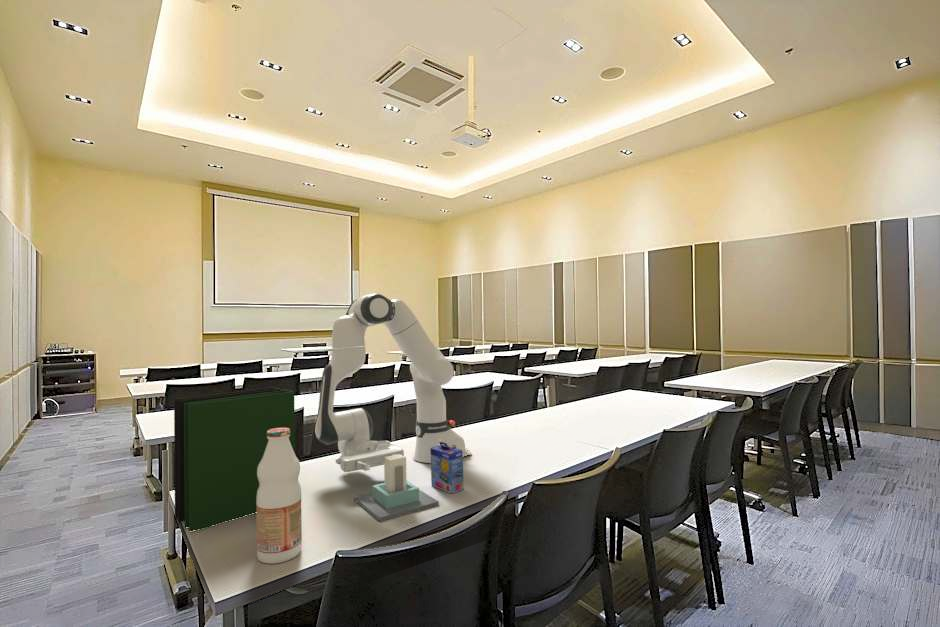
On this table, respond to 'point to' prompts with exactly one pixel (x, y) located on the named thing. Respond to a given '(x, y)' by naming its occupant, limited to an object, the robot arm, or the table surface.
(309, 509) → the table surface
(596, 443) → the table surface
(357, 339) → the robot arm
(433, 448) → the ink cartridge box
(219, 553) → the table surface
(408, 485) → the socket dock
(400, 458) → the keyed plug
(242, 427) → the binder
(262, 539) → the fruit juice
